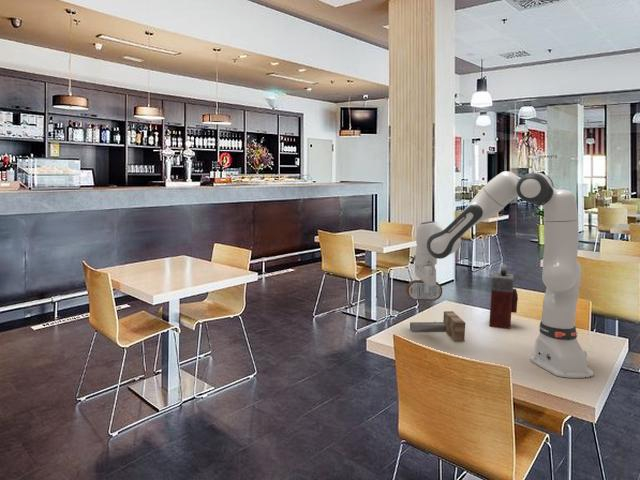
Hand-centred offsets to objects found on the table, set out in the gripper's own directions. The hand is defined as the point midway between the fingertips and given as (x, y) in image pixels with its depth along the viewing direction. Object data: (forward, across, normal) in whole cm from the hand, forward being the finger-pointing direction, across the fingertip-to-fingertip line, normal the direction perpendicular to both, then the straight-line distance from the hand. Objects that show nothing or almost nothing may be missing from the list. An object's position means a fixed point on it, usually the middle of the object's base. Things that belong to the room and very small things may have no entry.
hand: (424, 291), depth 207 cm
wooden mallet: (+19, -1, -5) cm, 20 cm away
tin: (+4, -1, 0) cm, 4 cm away
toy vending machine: (+19, +11, -40) cm, 46 cm away
